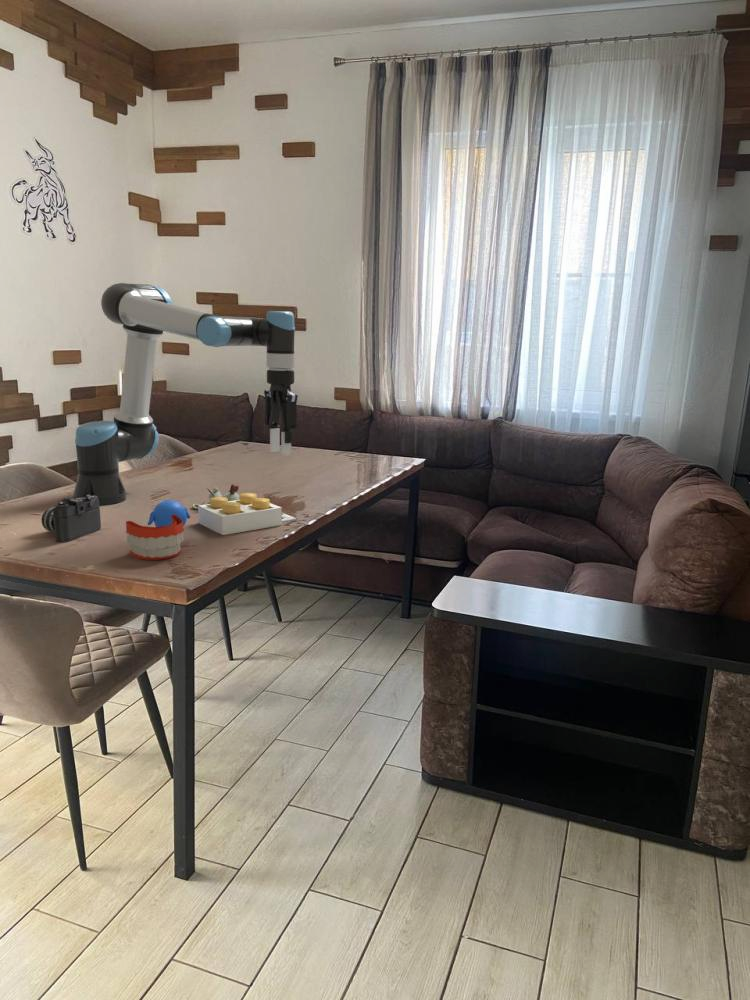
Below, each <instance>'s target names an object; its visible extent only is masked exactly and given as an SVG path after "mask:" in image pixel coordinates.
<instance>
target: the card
mask: <svg viewBox="0 0 750 1000" xmlns="http://www.w3.org/2000/svg"><path fill="white" fill-rule="evenodd" d="M296 520H297V517H294V516H292V515H289V514H287V513H284V512H282V523H285V522H293V521H296Z"/></svg>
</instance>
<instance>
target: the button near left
mask: <svg viewBox="0 0 750 1000" xmlns="http://www.w3.org/2000/svg"><path fill="white" fill-rule="evenodd" d="M222 513H224V514H226V515H231V514H238V513H241V504H240V503H237V502H226V503H223V504H222Z"/></svg>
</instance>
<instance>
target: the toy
mask: <svg viewBox="0 0 750 1000" xmlns="http://www.w3.org/2000/svg"><path fill="white" fill-rule="evenodd" d="M171 518H172V525H169V526H164V527H156V526H144V525H140V524H139V523H136V522H134V521H133V520H132V521H131V520H126V521H125V529H126V530H125V531H126V542H127V543H128V544H129V548H130V550H129V554H130V555H132V556H133V557H135V558H136V559H140V560H144V561H162V560H168V559H171V558H174V557H176V556H178V555H180V554H181V551H182V549H181V544H182V543H183V542H184V529H185V528H184V526H183V522H182V520H181V519H180V518H179V517H178V516H176V515H171Z"/></svg>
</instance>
